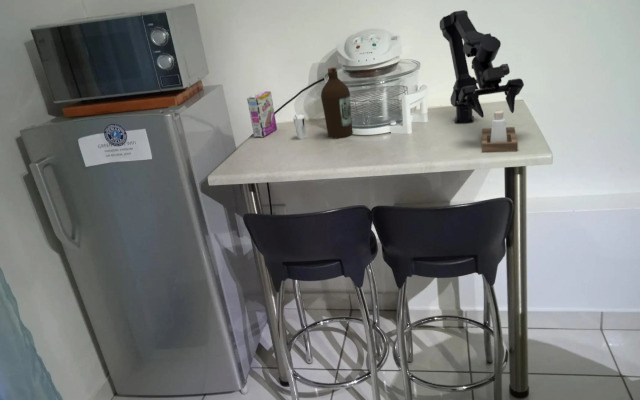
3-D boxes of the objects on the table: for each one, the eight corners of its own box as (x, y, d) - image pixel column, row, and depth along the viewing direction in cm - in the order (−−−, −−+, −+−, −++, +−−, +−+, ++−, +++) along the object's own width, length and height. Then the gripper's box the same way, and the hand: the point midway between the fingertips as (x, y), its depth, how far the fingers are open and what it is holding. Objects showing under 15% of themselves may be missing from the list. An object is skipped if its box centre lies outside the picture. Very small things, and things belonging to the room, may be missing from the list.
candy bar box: (264, 137, 197) (256, 97, 190) (254, 137, 199) (246, 98, 192) (278, 129, 206) (271, 90, 199) (268, 129, 208) (260, 91, 201)
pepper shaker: (486, 147, 151) (486, 113, 147) (494, 142, 155) (494, 108, 150) (503, 149, 148) (503, 114, 143) (511, 144, 151) (511, 109, 147)
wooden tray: (481, 135, 162) (481, 128, 161) (514, 134, 159) (514, 126, 158) (481, 152, 148) (481, 144, 147) (517, 151, 145) (517, 143, 144)
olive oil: (321, 138, 185) (311, 71, 175) (336, 129, 193) (328, 65, 183) (344, 140, 179) (336, 71, 169) (359, 131, 187) (352, 64, 176)
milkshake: (293, 140, 187) (289, 115, 183) (299, 136, 192) (295, 111, 188) (304, 140, 186) (300, 114, 182) (309, 135, 190) (305, 110, 186)
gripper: (460, 60, 146) (473, 105, 140) (522, 51, 146) (538, 95, 140) (453, 82, 156) (465, 124, 151) (510, 73, 156) (524, 115, 151)
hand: (497, 114), depth 148 cm, fingers open, 9 cm apart
